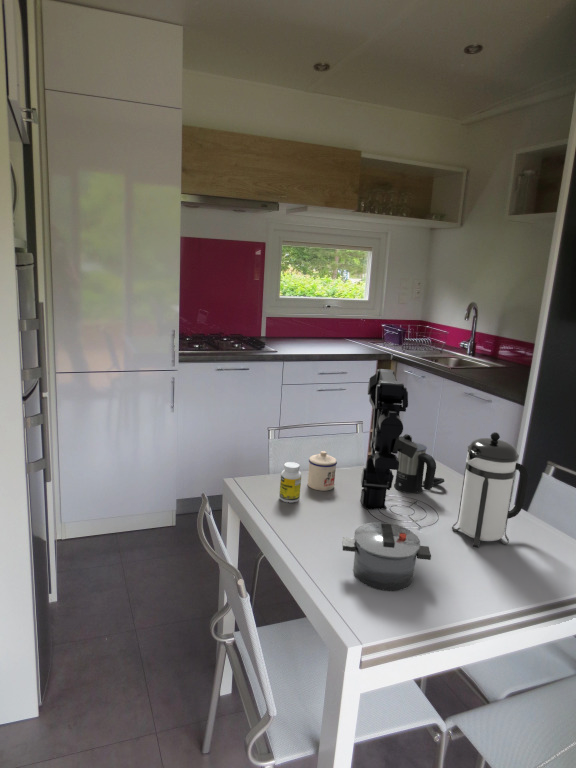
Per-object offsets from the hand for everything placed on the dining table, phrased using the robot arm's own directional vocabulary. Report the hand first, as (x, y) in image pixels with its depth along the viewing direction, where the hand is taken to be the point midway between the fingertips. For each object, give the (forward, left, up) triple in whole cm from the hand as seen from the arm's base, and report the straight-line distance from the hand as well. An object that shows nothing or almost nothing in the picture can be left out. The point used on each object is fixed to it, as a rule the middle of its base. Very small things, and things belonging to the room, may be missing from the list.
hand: (380, 482), depth 148 cm
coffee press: (-28, +7, -13) cm, 32 cm away
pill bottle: (+22, -18, -13) cm, 31 cm away
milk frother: (-24, -26, -13) cm, 38 cm away
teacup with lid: (+9, -29, -13) cm, 33 cm away
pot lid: (+6, +24, -5) cm, 25 cm away
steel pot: (+6, +24, -13) cm, 28 cm away
